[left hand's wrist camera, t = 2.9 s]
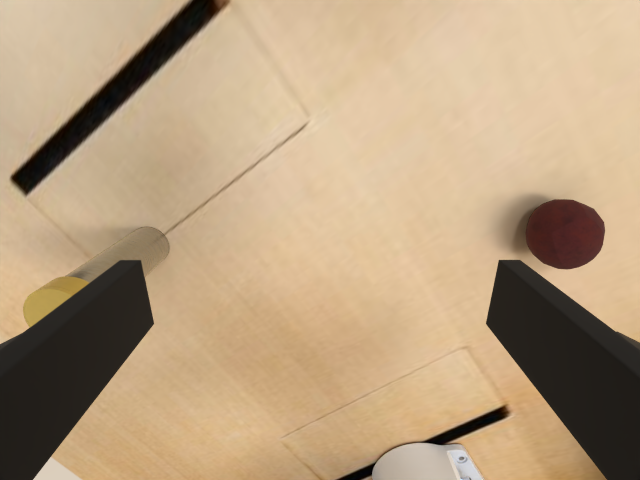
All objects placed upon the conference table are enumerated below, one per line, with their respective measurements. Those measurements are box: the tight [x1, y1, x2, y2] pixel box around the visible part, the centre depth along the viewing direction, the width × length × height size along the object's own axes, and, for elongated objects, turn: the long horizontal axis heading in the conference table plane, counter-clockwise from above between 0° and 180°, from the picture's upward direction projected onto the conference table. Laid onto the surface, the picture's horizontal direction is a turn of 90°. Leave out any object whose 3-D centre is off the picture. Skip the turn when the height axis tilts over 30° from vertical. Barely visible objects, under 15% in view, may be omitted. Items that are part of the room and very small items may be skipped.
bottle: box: [65, 227, 169, 283], centre depth 35 cm, size 5×5×16 cm
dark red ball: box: [526, 200, 605, 269], centre depth 38 cm, size 7×8×7 cm
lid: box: [23, 276, 89, 327], centre depth 28 cm, size 5×5×2 cm
